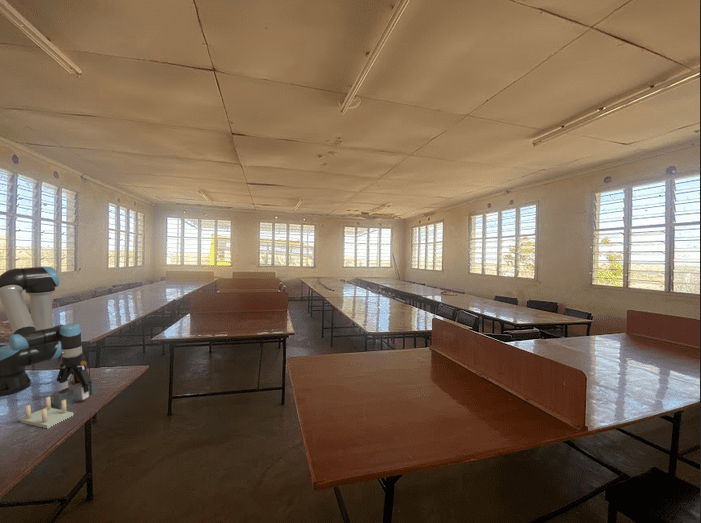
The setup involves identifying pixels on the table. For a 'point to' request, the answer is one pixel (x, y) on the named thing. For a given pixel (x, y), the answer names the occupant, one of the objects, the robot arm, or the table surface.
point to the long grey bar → (73, 394)
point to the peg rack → (46, 415)
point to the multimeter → (78, 372)
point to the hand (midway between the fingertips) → (75, 396)
